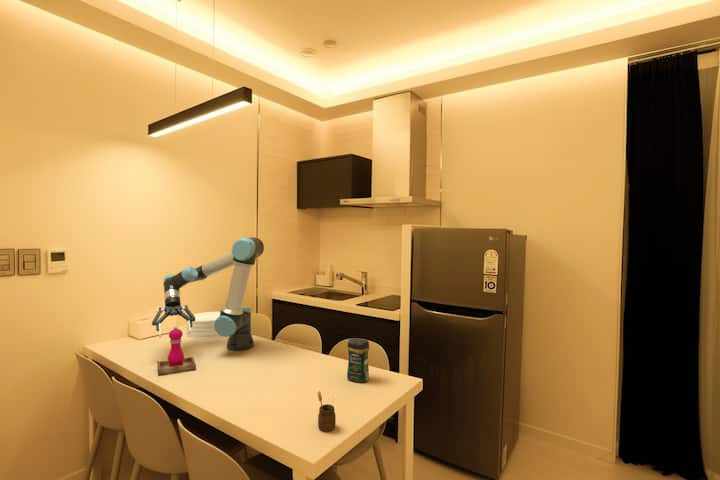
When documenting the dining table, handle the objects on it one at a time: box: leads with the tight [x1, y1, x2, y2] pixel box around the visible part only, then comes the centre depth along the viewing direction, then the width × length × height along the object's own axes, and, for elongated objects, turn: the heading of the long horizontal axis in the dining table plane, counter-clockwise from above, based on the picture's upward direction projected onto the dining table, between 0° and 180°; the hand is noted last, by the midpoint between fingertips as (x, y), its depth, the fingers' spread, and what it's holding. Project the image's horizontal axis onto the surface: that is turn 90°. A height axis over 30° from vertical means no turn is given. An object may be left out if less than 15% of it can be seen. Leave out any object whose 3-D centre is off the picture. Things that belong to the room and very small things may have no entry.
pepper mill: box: [167, 325, 185, 367], centre depth 187 cm, size 7×7×20 cm
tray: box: [157, 356, 197, 377], centre depth 187 cm, size 16×12×3 cm
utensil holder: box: [317, 390, 337, 432], centre depth 132 cm, size 6×6×12 cm
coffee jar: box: [346, 337, 370, 383], centre depth 175 cm, size 10×8×19 cm
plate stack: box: [185, 311, 223, 340], centre depth 252 cm, size 28×28×12 cm
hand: (175, 334), depth 196 cm, fingers open, 13 cm apart
